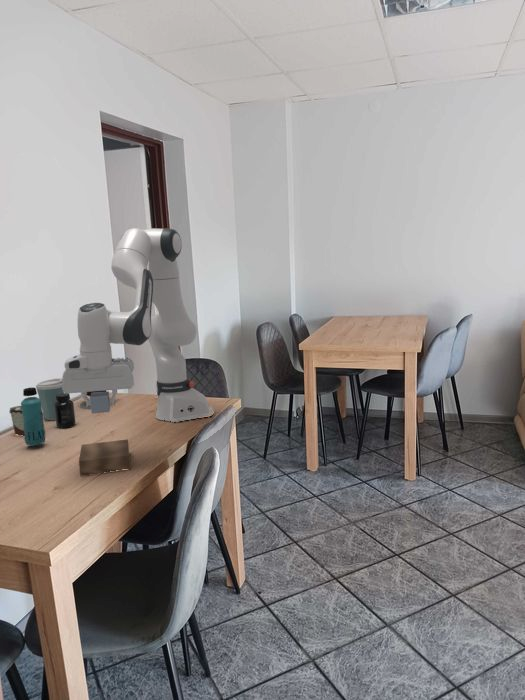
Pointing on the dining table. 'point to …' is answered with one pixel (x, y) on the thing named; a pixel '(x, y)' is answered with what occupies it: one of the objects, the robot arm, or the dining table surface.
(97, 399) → the slate cube
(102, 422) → the dining table surface
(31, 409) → the beverage bottle
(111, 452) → the walnut block
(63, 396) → the supplement bottle
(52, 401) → the disposable coffee cup
